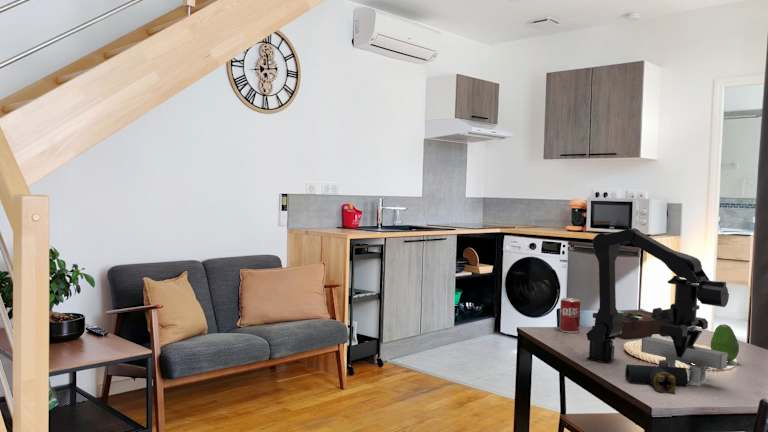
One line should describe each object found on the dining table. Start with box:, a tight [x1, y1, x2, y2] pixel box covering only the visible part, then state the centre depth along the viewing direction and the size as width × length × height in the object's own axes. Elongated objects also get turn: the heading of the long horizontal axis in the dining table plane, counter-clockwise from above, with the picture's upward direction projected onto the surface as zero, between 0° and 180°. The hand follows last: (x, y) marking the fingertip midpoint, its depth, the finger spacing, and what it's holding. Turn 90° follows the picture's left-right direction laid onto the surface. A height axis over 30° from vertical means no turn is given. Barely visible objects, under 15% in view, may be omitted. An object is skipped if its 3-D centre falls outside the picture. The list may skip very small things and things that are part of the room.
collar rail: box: [658, 357, 707, 387], centre depth 176 cm, size 11×8×5 cm
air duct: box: [640, 337, 728, 371], centre depth 176 cm, size 22×4×4 cm, turn 42°
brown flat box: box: [591, 309, 670, 341], centre depth 235 cm, size 19×8×30 cm
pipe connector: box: [624, 364, 688, 394], centre depth 169 cm, size 12×5×15 cm
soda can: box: [559, 297, 582, 334], centre depth 234 cm, size 7×7×12 cm
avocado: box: [710, 324, 740, 362], centre depth 196 cm, size 8×8×12 cm
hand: (682, 355), depth 176 cm, fingers closed on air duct, 4 cm apart
